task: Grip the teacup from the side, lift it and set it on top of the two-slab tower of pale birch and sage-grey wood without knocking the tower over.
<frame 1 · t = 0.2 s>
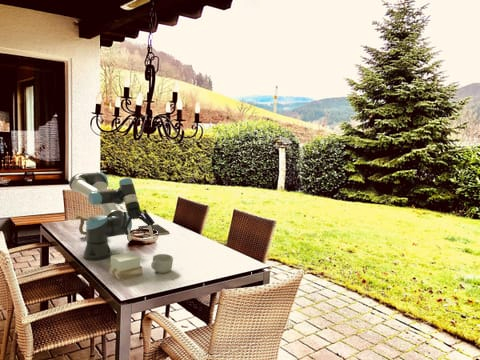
hand: (141, 238, 215), 15 cm above the table, tool tilted 35°, fingers open, 13 cm apart
tankard: (90, 237, 266), on the table
teacup: (160, 272, 208), on the table
tower top: (125, 265, 202), point 5 cm above the table, touching tower base
tower base: (125, 274, 203), on the table, touching tower top
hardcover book: (153, 232, 288), on the table
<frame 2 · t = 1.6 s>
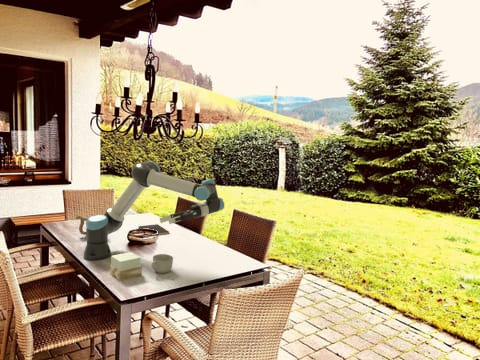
hand: (164, 221, 209), 27 cm above the table, tool horizontal, fingers open, 13 cm apart
tower top: (125, 265, 202), point 5 cm above the table
tower base: (125, 275, 203), on the table
everything else where it was.
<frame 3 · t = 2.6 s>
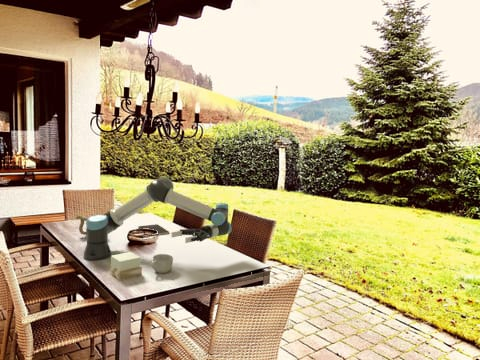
hand: (178, 237, 213), 17 cm above the table, tool horizontal, fingers open, 13 cm apart
tower top: (125, 265, 202), point 5 cm above the table, touching tower base
tower base: (125, 274, 203), on the table, touching tower top
everything else where it was.
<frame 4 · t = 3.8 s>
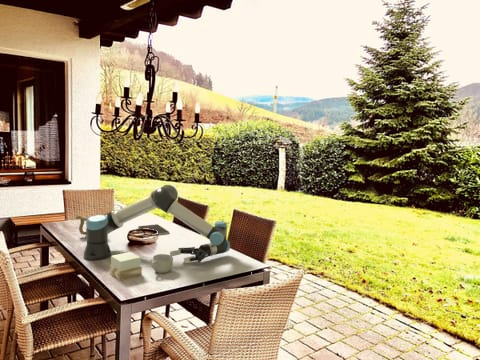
hand: (177, 257, 214), 6 cm above the table, tool horizontal, fingers open, 13 cm apart
nothing on the table moved.
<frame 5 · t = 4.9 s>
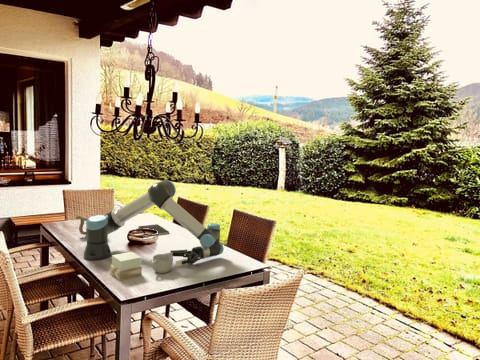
hand: (168, 260, 210), 6 cm above the table, tool horizontal, fingers open, 13 cm apart
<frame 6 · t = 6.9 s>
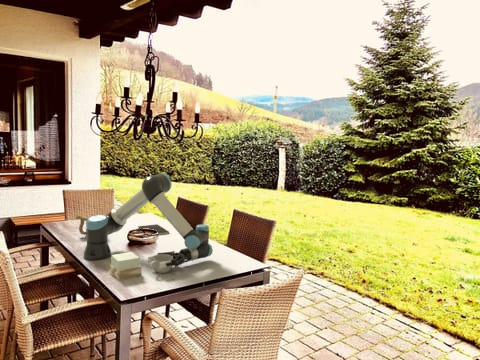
hand: (154, 262, 204), 6 cm above the table, tool horizontal, fingers open, 11 cm apart
teacup: (160, 272, 208), on the table, touching gripper
tower top: (125, 265, 202), point 5 cm above the table
tower base: (125, 274, 203), on the table
everything else where it was.
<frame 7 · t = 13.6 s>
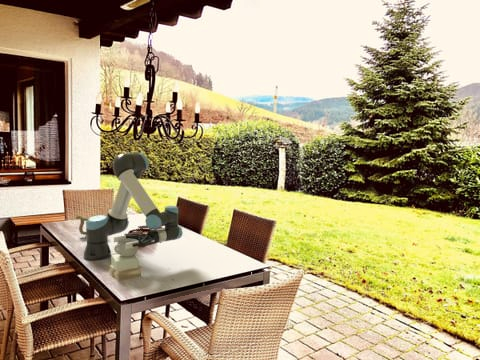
hand: (119, 242, 198), 17 cm above the table, tool horizontal, fingers open, 13 cm apart
teacup: (125, 256, 202), point 9 cm above the table, touching gripper, tower top
tower top: (124, 265, 202), point 4 cm above the table, touching teacup, tower base
tower base: (125, 275, 202), on the table, touching tower top
everything else where it was.
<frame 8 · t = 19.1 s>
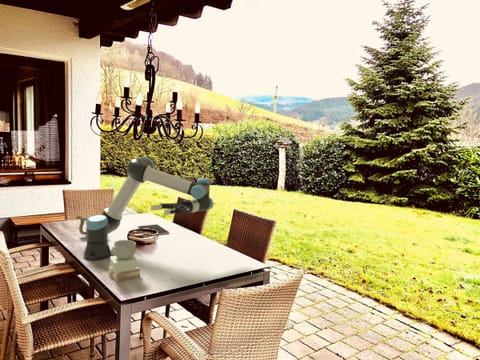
hand: (157, 210, 211), 32 cm above the table, tool horizontal, fingers open, 13 cm apart
teacup: (122, 258, 199), point 9 cm above the table, touching tower top
tower top: (123, 267, 199), point 5 cm above the table, touching teacup, tower base
tower base: (124, 276, 200), on the table, touching tower top
everything else where it was.
at the end: teacup inside the target area on the tower top (0.4 cm from its centre), point 4.8 cm above the tower top's base; tower top inside the target area on the tower base (0.4 cm from its centre), point 5.0 cm above the tower base's base; teacup tilted 1° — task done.
